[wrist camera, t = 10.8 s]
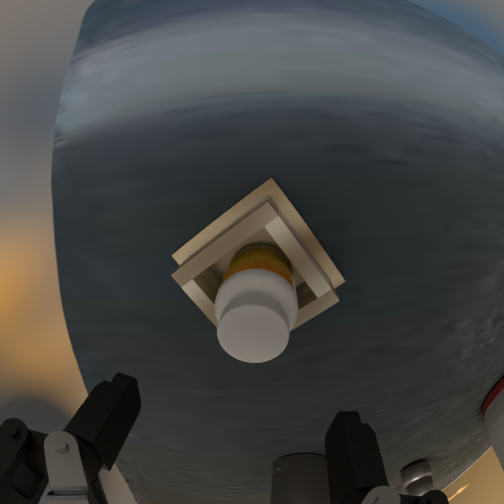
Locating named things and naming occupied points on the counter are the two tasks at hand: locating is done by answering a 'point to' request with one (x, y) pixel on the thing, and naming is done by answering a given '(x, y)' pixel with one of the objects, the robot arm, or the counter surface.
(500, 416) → the citrus juicer
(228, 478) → the counter surface
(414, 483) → the plastic bottle
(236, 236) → the open square wooden box
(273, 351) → the supplement bottle
